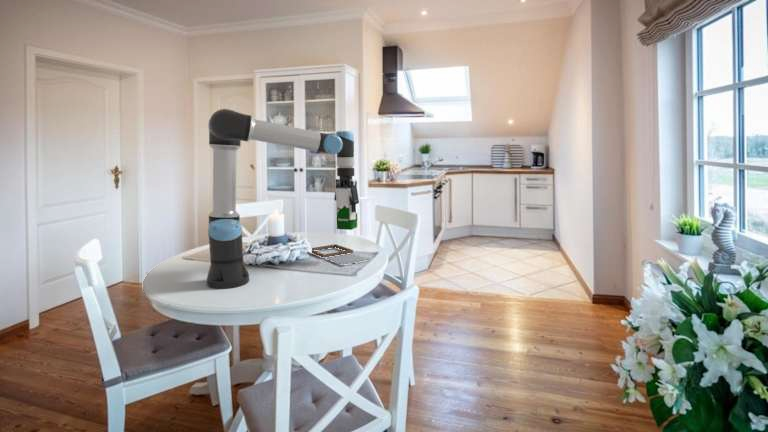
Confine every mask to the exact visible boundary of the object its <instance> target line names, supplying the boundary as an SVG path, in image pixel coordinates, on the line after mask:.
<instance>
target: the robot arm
mask: <svg viewBox="0 0 768 432" xmlns="http://www.w3.org/2000/svg"><path fill="white" fill-rule="evenodd" d="M208 138H209V139H208V145H209V146H210V148H211V149H212V150H213V151H212V153H213V154H212V155H213V156H212V161H213V162H212V163H213V165H212V169H213V170H212V211H211V212H210V213H209V214H208V229H207V235H208V243H209V258H210V266H209V269H208V273H207V277H206V285H207V286H208V287H209V288H213V289H230V288H237V287H241V286H244V285H246V284H248V283H249V282H250V273H249V272H248V268H247V266H246V264H245V261H244V249H243V248H244V247H243V245H244V244H243V227H242V224H241V222H240V214H239V212H238V211H237V209H236V208H237V207H236V206H237V151H238V150H239V149H240V148H241V146H242V145H241V142H248V143H249V141H251V140H252V141H257V142H263V143H268V144H273V145H274V144H275V145H280V146H284V147H290V148H295V149H302V150H306V151H307V150H308V151H309V153H310V154H311V155H320V154H321V155H322V154H323V155H333V156H334V155H336V175H337V177H339V178H337V179H335V188H334V190H335V189H336V188H345V189H351V194H352V195H350V196H349V201H350V204H349V217H350V220H354V219H356V204H357V205H358V204H359V203H360V201H359V193H358V186H357V184H358V183H357V182H358V181H357V180H353V177H354V176H355V167H354V166H355V140H354V139H355V137H354V133H353V131H351V130H350V131H349V130H341V131H340V130H339V131H336V133H335V134H330V133H329V134H327V133H323V132H319V131H315V130H309V129H305V128H299V127H294V126H290V125H284V124H280V123H275V122H270V121H265V120H260V119H256V118H254V117H253V115H249V114H245V113H241V112H238V111H235V110H231V109H229V108H228V109H227V108H222V109H218V110H216V111H215V112H213V113H212V115H211V116H210V119H209V120H208ZM350 187H351V188H350ZM334 201H335V202H336V192H335V191H334ZM352 201H353V202H352Z"/></svg>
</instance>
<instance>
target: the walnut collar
mask: <svg viewBox="0 0 768 432" xmlns="http://www.w3.org/2000/svg"><path fill="white" fill-rule="evenodd" d="M335 247H336V248H339V249H342V250H345V251H341V250H340V251H336V252H330V253H322V252H320V251H314V250H322V249H328V248H335ZM311 248H312V253H314V254H316V255H319V256H321V257H329V256H335V255H341V254H347V253H353V254H354V250H353V249H351V248H349V247H345V246H342V245H340V244H337V243H336V244H328V245H322V246H317V247H311Z"/></svg>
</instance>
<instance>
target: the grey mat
mask: <svg viewBox="0 0 768 432" xmlns="http://www.w3.org/2000/svg"><path fill="white" fill-rule="evenodd" d="M327 259H329V260H332V261H334V262H337V263H339V264H342V265H343V264H348V263H354V262H359V261H364V260H369V261H370V259H369V258H366V257H363V256H360V255H357V254H356V253H355V254H354V253H353V254H352V253H351V254H345V255H340V256H334V257H328V258H327Z"/></svg>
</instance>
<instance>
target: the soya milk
mask: <svg viewBox="0 0 768 432" xmlns="http://www.w3.org/2000/svg"><path fill="white" fill-rule="evenodd" d="M335 188H336V187H335ZM335 188H334V193H335V192H336V201H335V202H336V203H335V204H336V209H335V211H336V229H337V230H350V231H352V230H354V229H357V228H358V204H356V219H354V220H350V217H349V204H350V201H349V196H350V195H352V194H351V189H345V188H336V189H335ZM350 188H351V187H350ZM352 202H353V201H352Z"/></svg>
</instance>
